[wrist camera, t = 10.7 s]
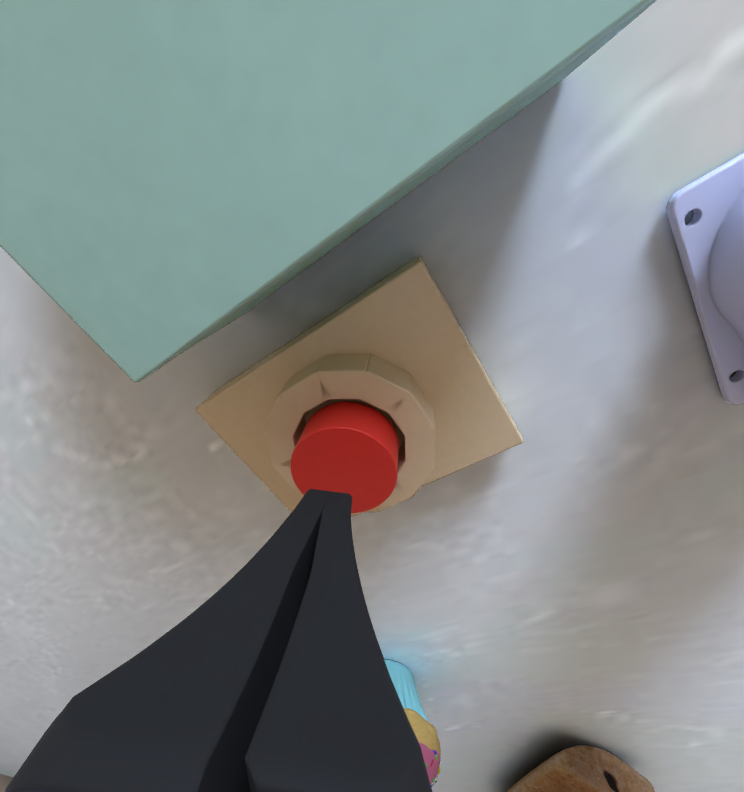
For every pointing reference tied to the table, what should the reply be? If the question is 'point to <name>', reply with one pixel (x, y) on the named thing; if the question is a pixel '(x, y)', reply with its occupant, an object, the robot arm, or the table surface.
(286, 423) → the switch box
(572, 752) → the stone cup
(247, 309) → the green lidded box
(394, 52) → the pale green flat slab
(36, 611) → the table surface
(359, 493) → the power button
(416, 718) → the cupcake
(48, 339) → the table surface
